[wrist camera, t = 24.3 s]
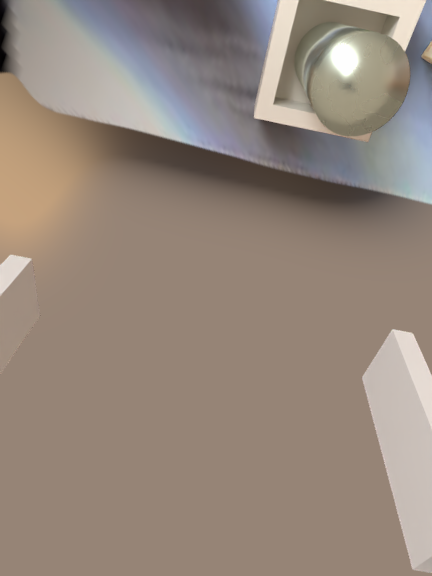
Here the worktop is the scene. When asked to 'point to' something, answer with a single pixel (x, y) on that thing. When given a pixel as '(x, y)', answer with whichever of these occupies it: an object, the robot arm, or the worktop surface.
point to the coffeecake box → (428, 53)
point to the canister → (352, 77)
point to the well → (290, 30)
